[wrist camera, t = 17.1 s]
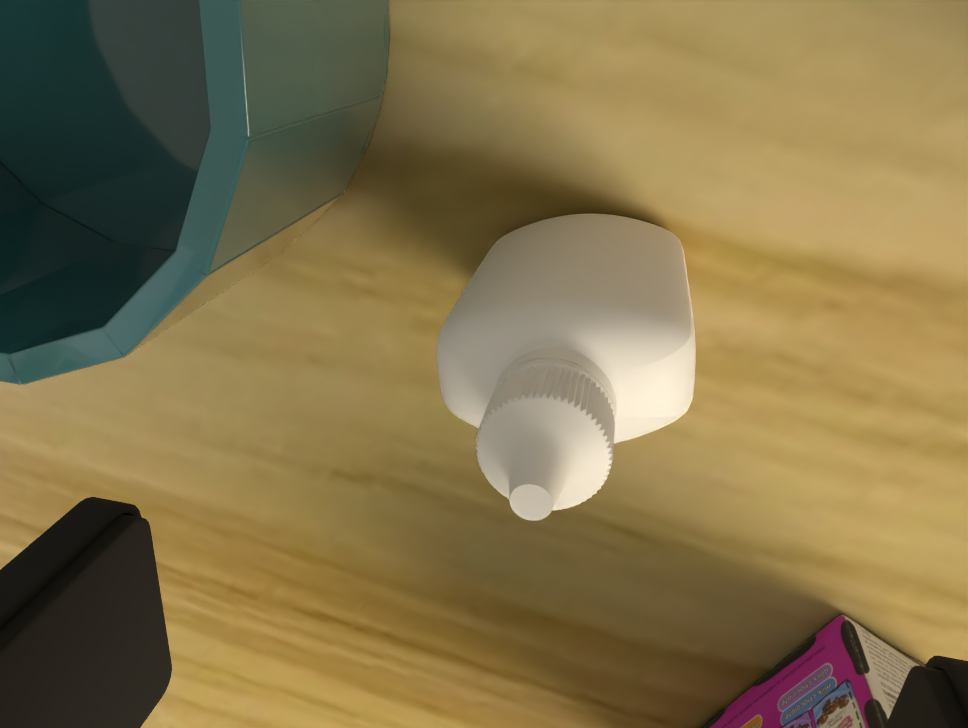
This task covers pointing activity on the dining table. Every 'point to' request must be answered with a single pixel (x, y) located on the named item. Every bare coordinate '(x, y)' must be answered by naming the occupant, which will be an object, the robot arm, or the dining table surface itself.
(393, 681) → the dining table surface
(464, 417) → the eye dropper bottle
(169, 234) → the canister
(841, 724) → the candy bar box
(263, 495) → the dining table surface
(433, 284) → the dining table surface
